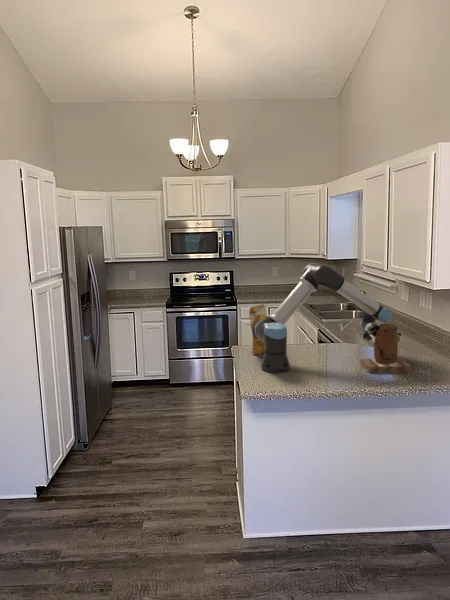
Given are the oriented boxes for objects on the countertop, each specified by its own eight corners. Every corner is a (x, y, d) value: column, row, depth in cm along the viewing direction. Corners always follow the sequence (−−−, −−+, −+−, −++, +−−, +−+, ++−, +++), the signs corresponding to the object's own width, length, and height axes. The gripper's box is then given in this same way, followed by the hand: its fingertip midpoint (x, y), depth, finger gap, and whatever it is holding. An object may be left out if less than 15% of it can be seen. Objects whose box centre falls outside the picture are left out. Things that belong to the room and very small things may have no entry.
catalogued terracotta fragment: (391, 359, 250) (393, 322, 247) (398, 363, 243) (400, 325, 240) (372, 360, 249) (373, 323, 246) (377, 364, 242) (379, 326, 239)
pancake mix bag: (245, 354, 277) (245, 307, 273) (264, 347, 292) (264, 303, 287) (255, 356, 273) (254, 308, 269) (273, 349, 287) (273, 304, 283)
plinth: (368, 373, 239) (369, 366, 238) (359, 364, 254) (360, 358, 253) (412, 372, 239) (412, 365, 239) (400, 363, 254) (400, 357, 254)
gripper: (396, 336, 264) (411, 346, 243) (351, 337, 264) (363, 347, 243) (396, 323, 263) (412, 332, 242) (351, 324, 263) (363, 332, 242)
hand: (387, 339), depth 243 cm, fingers open, 13 cm apart
